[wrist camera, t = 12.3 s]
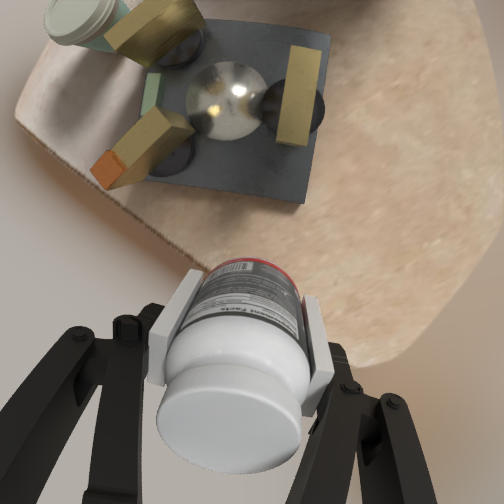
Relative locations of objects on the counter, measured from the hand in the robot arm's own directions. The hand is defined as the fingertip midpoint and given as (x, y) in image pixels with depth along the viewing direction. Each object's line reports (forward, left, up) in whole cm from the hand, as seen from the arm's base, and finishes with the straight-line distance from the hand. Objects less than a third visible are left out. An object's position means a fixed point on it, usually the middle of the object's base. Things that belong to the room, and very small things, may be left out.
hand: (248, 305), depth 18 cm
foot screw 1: (-20, -13, -19) cm, 30 cm away
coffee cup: (-22, -22, -21) cm, 37 cm away
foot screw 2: (-13, +1, -19) cm, 23 cm away
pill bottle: (0, 0, -1) cm, 1 cm away
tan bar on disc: (-7, -12, -19) cm, 23 cm away
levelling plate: (-13, -6, -21) cm, 25 cm away
